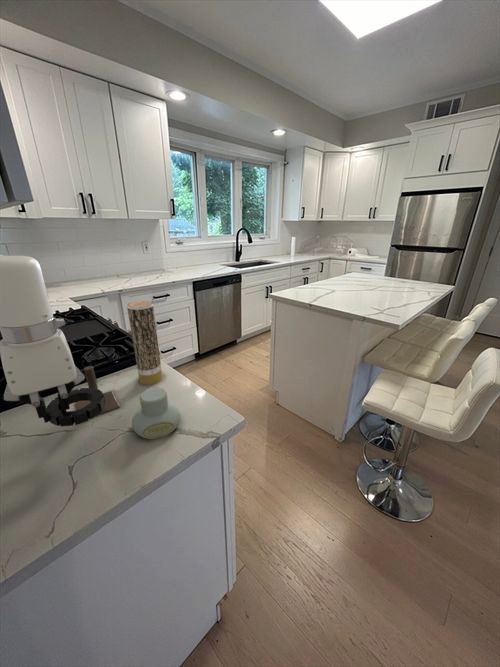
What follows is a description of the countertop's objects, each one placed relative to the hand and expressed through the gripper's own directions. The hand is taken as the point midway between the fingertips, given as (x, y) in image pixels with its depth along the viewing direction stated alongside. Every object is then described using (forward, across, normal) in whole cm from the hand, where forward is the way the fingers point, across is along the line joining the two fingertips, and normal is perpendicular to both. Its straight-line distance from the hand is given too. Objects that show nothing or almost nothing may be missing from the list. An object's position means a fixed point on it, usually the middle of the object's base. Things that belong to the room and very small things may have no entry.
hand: (55, 415), depth 55 cm
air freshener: (+11, -18, +3) cm, 22 cm away
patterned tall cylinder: (+11, -24, -19) cm, 33 cm away
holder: (+11, -8, -14) cm, 19 cm away
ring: (0, -4, 0) cm, 4 cm away
